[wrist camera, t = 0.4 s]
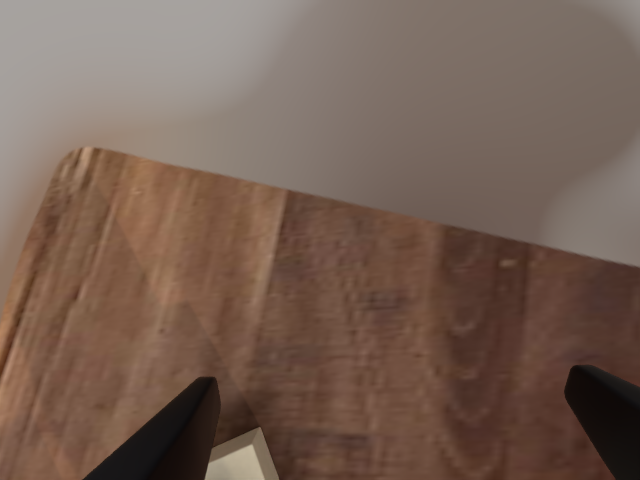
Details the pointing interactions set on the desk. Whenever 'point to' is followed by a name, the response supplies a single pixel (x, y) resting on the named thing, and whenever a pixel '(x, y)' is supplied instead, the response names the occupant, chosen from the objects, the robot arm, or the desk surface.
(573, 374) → the robot arm
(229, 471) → the button base
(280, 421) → the desk surface
